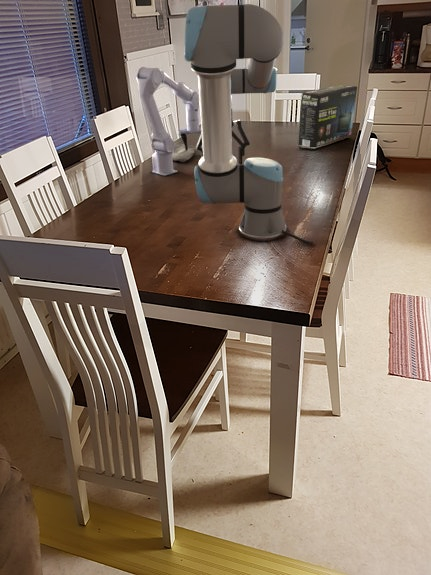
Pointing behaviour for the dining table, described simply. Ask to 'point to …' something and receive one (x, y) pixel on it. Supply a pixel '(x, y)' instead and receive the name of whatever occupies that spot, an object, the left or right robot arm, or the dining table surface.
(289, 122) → the dining table surface
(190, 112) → the left robot arm
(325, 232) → the dining table surface
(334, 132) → the router box
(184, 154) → the fossil
